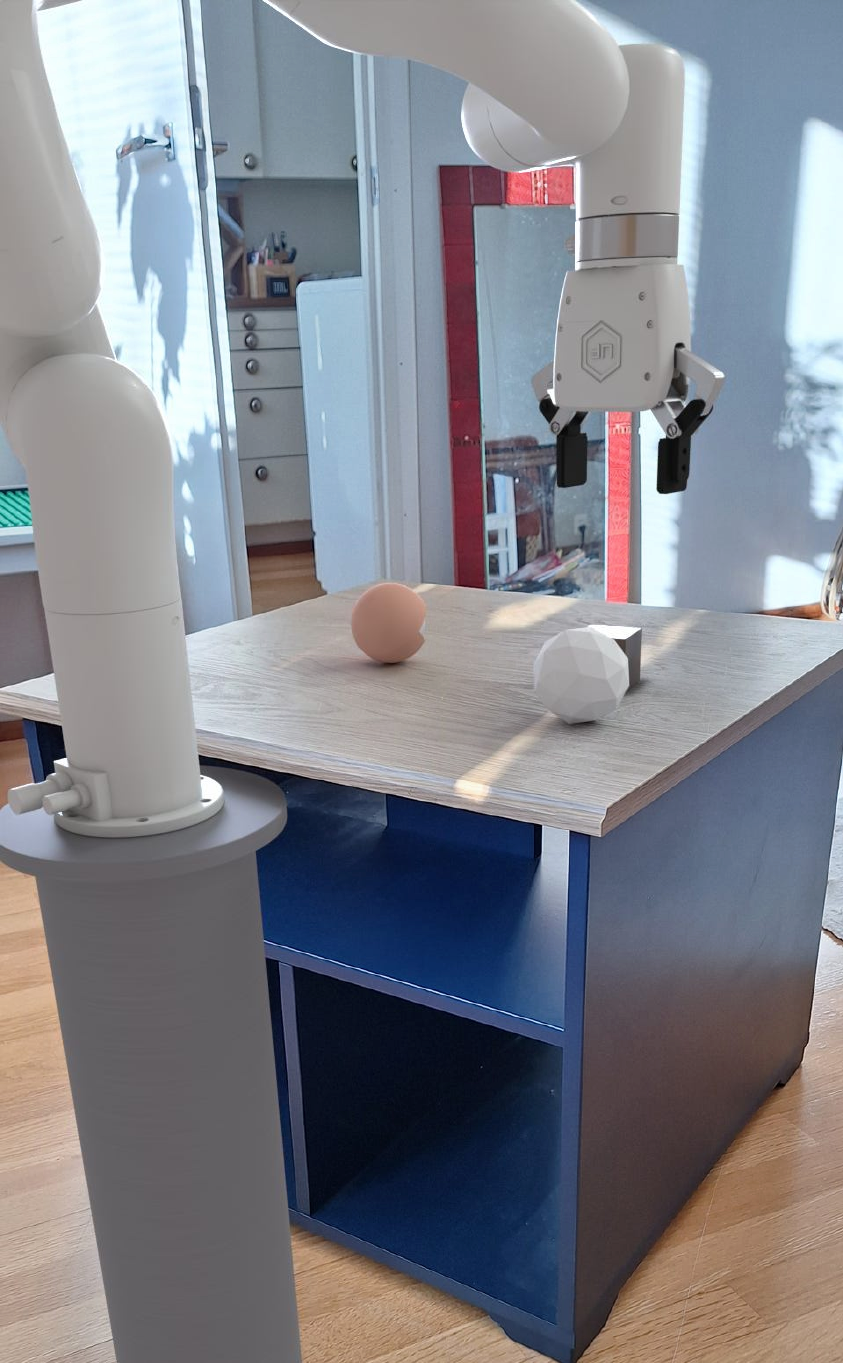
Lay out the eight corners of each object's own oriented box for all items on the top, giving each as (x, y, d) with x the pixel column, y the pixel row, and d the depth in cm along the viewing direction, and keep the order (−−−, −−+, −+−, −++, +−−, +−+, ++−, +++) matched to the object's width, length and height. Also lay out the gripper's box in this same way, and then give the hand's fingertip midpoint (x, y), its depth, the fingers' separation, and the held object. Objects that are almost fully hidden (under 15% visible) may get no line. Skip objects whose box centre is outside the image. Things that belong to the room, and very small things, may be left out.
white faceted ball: (546, 698, 102) (479, 685, 113) (620, 745, 106) (548, 728, 117) (593, 610, 102) (521, 605, 113) (665, 661, 106) (589, 652, 117)
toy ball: (445, 659, 132) (443, 581, 128) (394, 675, 126) (390, 593, 123) (388, 650, 137) (384, 574, 133) (336, 664, 131) (331, 585, 128)
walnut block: (624, 694, 117) (625, 639, 115) (571, 689, 119) (572, 635, 117) (640, 681, 121) (642, 627, 119) (589, 677, 123) (590, 624, 121)
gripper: (504, 254, 98) (506, 488, 105) (698, 236, 87) (686, 500, 94) (565, 255, 103) (563, 479, 110) (756, 238, 92) (741, 489, 99)
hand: (620, 488), depth 102 cm, fingers open, 9 cm apart
